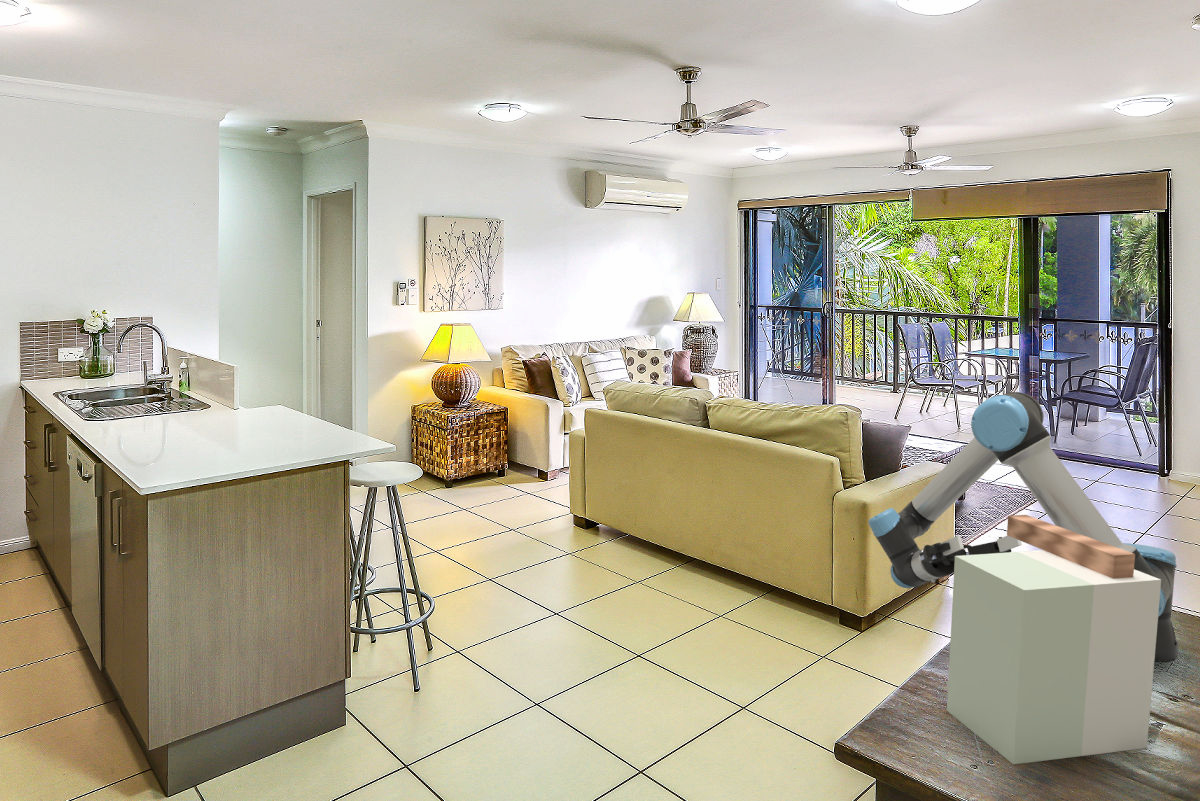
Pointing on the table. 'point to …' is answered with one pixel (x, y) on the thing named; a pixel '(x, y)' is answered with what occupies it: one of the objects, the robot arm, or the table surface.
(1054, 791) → the table surface
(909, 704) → the table surface
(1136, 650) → the pale green cube
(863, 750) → the table surface
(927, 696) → the table surface
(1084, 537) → the bar
